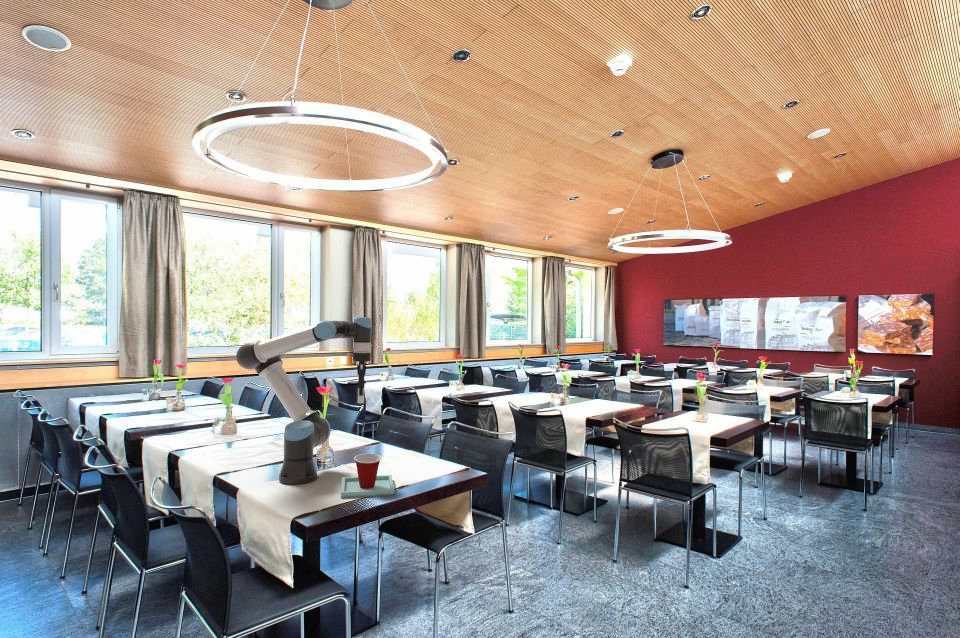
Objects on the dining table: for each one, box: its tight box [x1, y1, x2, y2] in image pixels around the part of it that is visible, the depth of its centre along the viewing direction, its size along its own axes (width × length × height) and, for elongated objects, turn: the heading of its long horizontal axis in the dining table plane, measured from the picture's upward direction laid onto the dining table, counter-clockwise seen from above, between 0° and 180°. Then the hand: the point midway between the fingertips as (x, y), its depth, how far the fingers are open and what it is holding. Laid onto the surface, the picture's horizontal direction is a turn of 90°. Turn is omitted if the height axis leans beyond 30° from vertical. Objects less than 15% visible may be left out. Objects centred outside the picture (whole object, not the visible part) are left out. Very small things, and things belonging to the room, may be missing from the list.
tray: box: [340, 474, 395, 499], centre depth 210 cm, size 20×20×2 cm
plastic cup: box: [353, 452, 382, 489], centre depth 210 cm, size 11×11×12 cm
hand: (361, 400), depth 231 cm, fingers open, 13 cm apart
